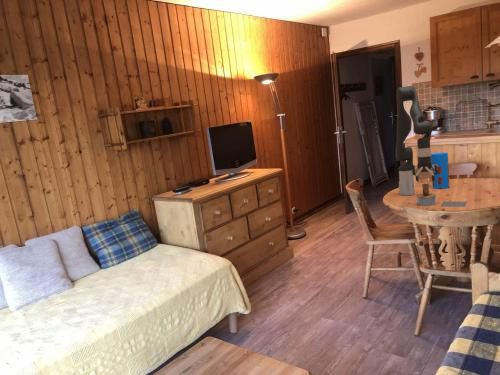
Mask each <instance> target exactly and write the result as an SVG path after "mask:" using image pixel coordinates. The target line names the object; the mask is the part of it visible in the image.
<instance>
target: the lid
mask: <svg viewBox="0 0 500 375" xmlns="http://www.w3.org/2000/svg"><path fill="white" fill-rule="evenodd" d="M421 188H422V193H419V194H416V195H415V196H416V199H417V198H423V199H427V198H434V197H436V198H437V195H436V194H435V193H431V192H430V185H429V183H422V187H421Z"/></svg>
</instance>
